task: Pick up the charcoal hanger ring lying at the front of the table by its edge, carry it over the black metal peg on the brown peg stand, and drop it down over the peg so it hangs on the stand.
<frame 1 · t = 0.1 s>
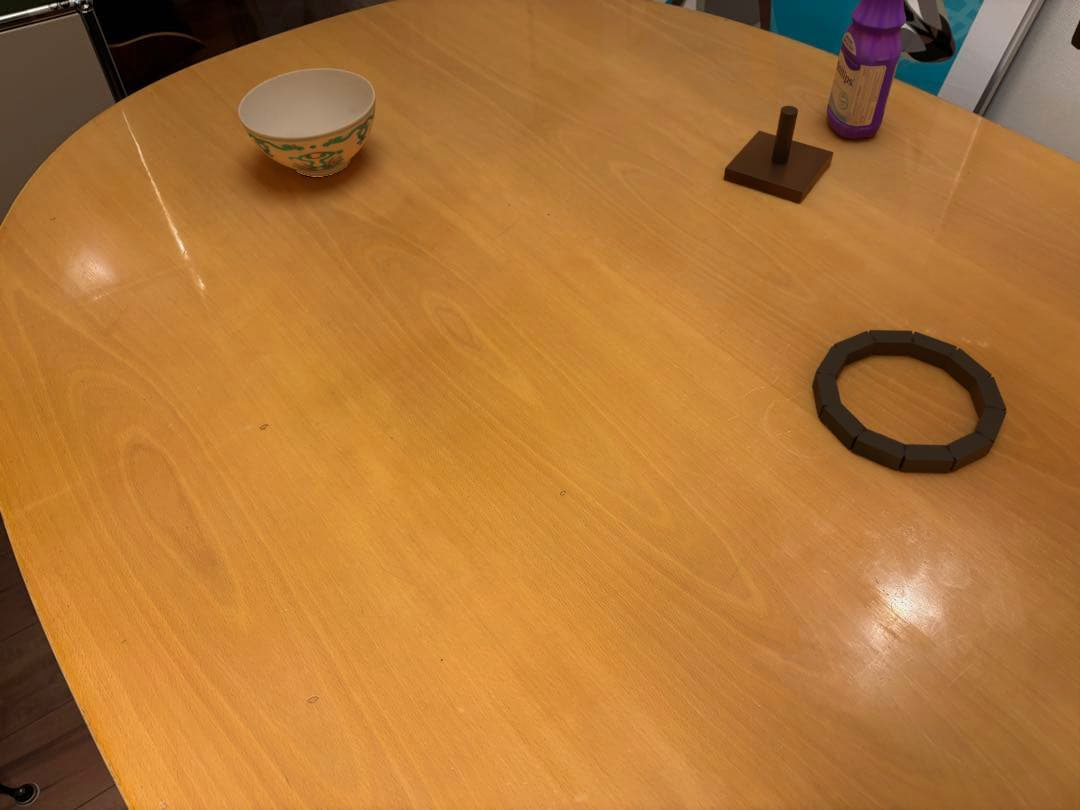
hand: (1054, 9, 53), 31 cm above the table, tool pointing down, fingers open, 9 cm apart
chinaware: (322, 163, 102), on the table
bottle: (850, 128, 103), on the table
brown peg stand: (777, 171, 98), on the table
hanger ring: (903, 403, 74), on the table
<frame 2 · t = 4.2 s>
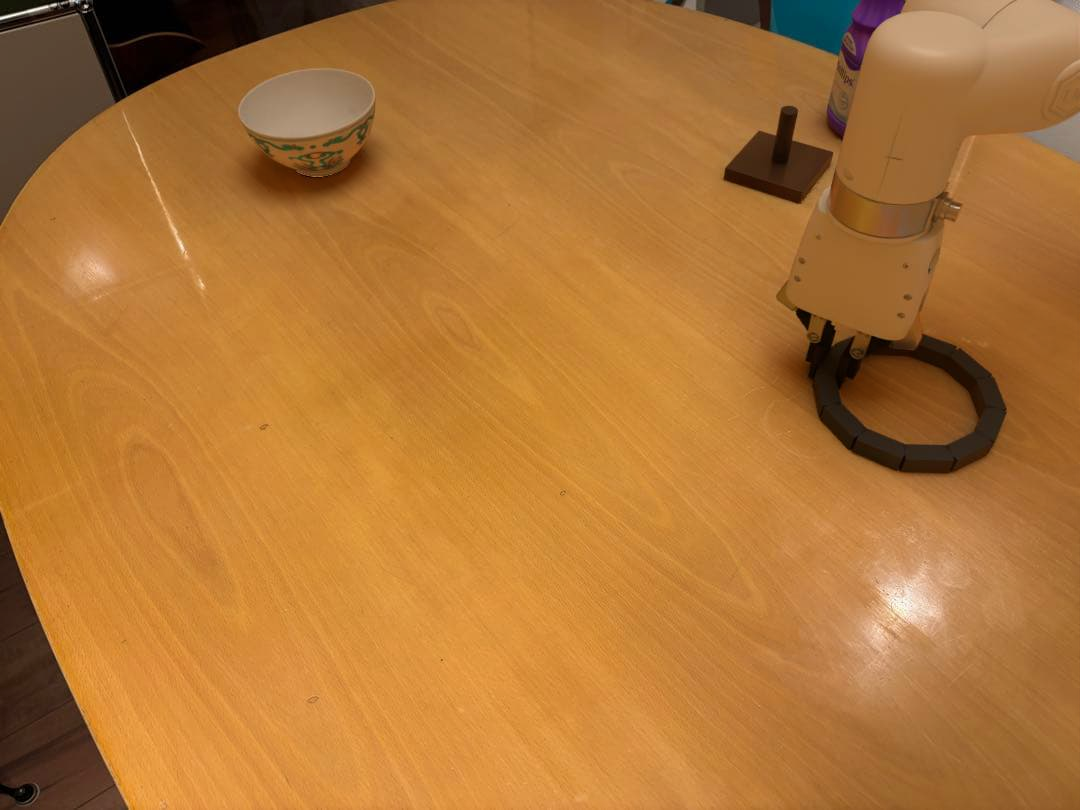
hand: (829, 372, 76), 0 cm above the table, tool pointing down, fingers closed on hanger ring, 1 cm apart
hanger ring: (904, 403, 74), on the table, touching gripper
everything else where it was.
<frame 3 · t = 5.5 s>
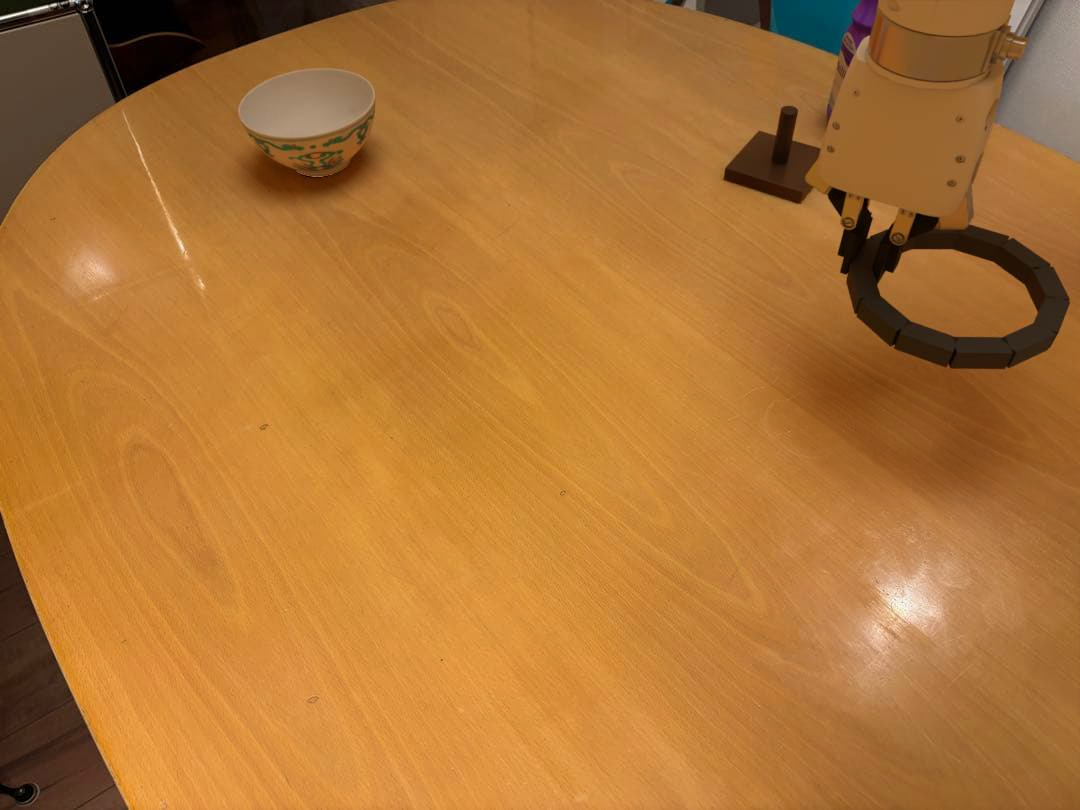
hand: (864, 268, 68), 12 cm above the table, tool pointing down, fingers closed on hanger ring
hanger ring: (950, 298, 65), point 12 cm above the table, touching gripper
everything else where it was.
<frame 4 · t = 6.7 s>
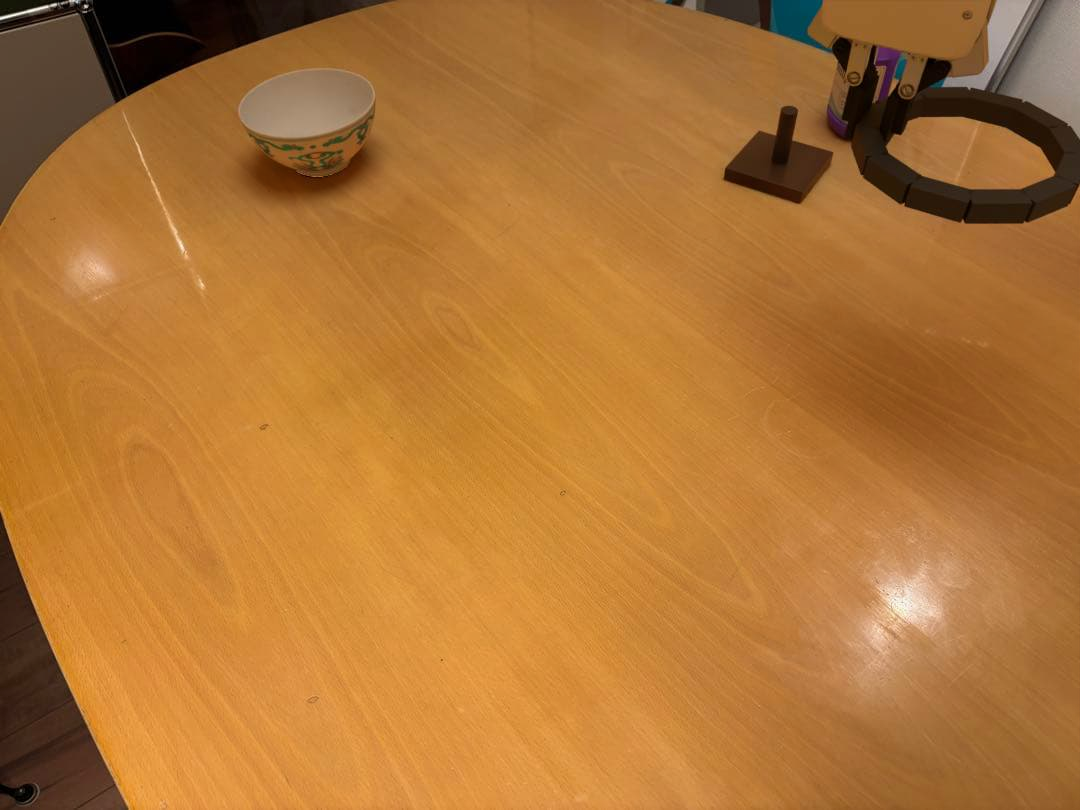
hand: (870, 133, 64), 21 cm above the table, tool pointing down, fingers closed on hanger ring
hanger ring: (962, 160, 61), point 21 cm above the table, touching gripper
everything else where it was.
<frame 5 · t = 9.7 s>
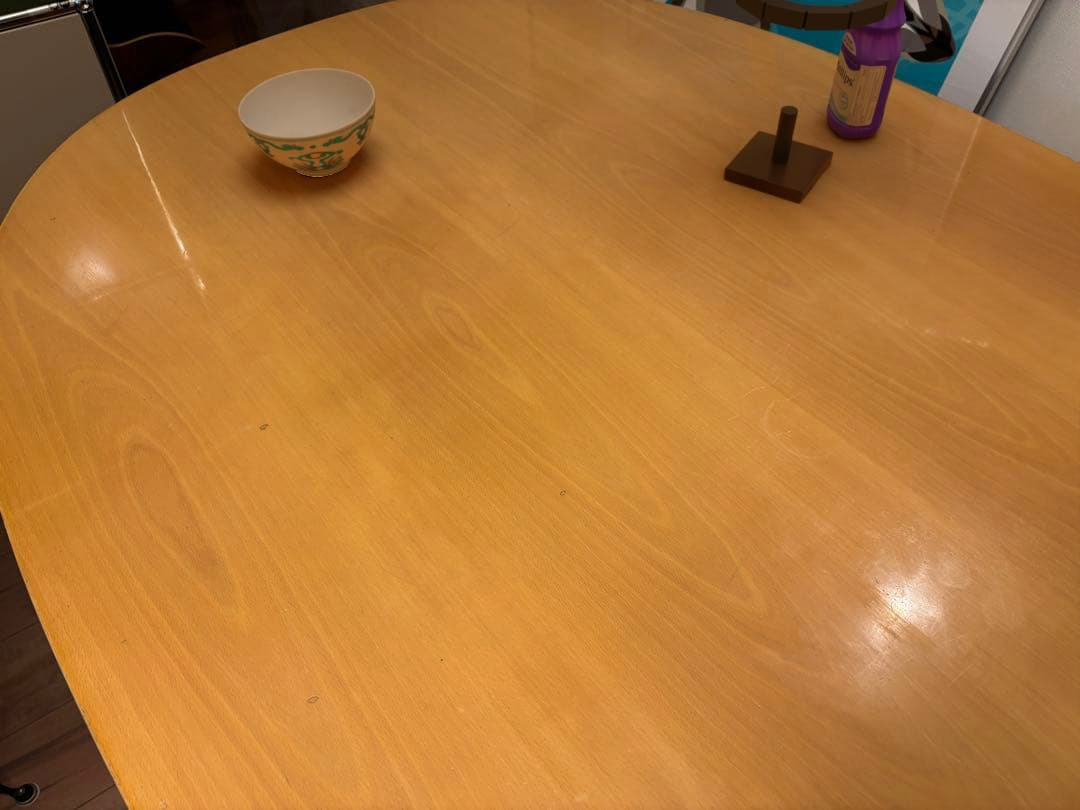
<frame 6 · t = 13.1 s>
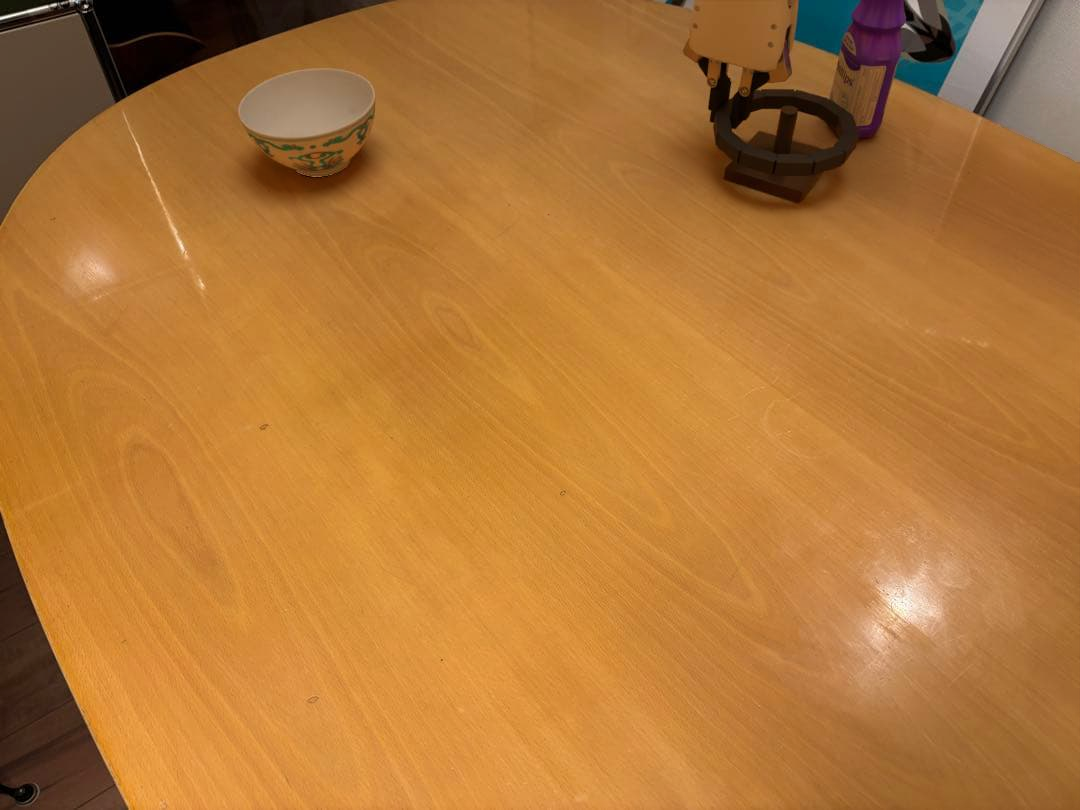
hand: (728, 119, 97), 4 cm above the table, tool pointing down, fingers closed on hanger ring
hanger ring: (783, 137, 94), point 4 cm above the table, touching gripper
everything else where it was.
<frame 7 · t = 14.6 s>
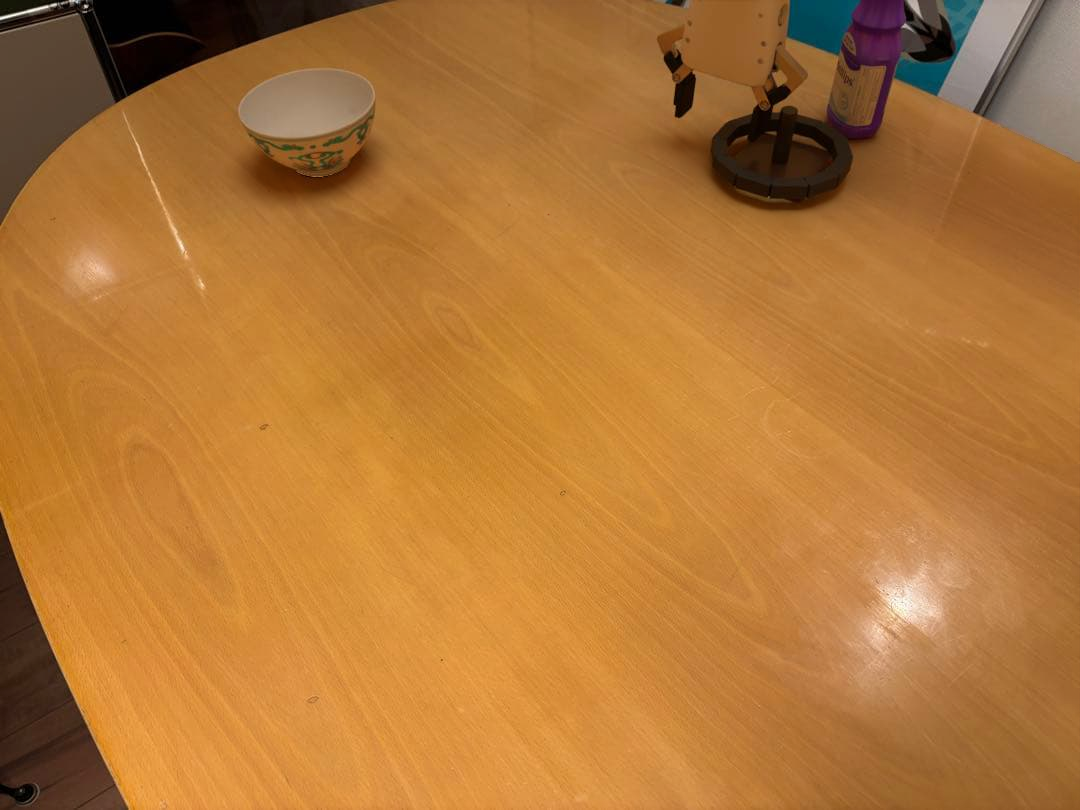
hand: (718, 123, 98), 4 cm above the table, tool pointing down, fingers open, 8 cm apart
hanger ring: (778, 159, 96), point 1 cm above the table, touching brown peg stand
everything else where it was.
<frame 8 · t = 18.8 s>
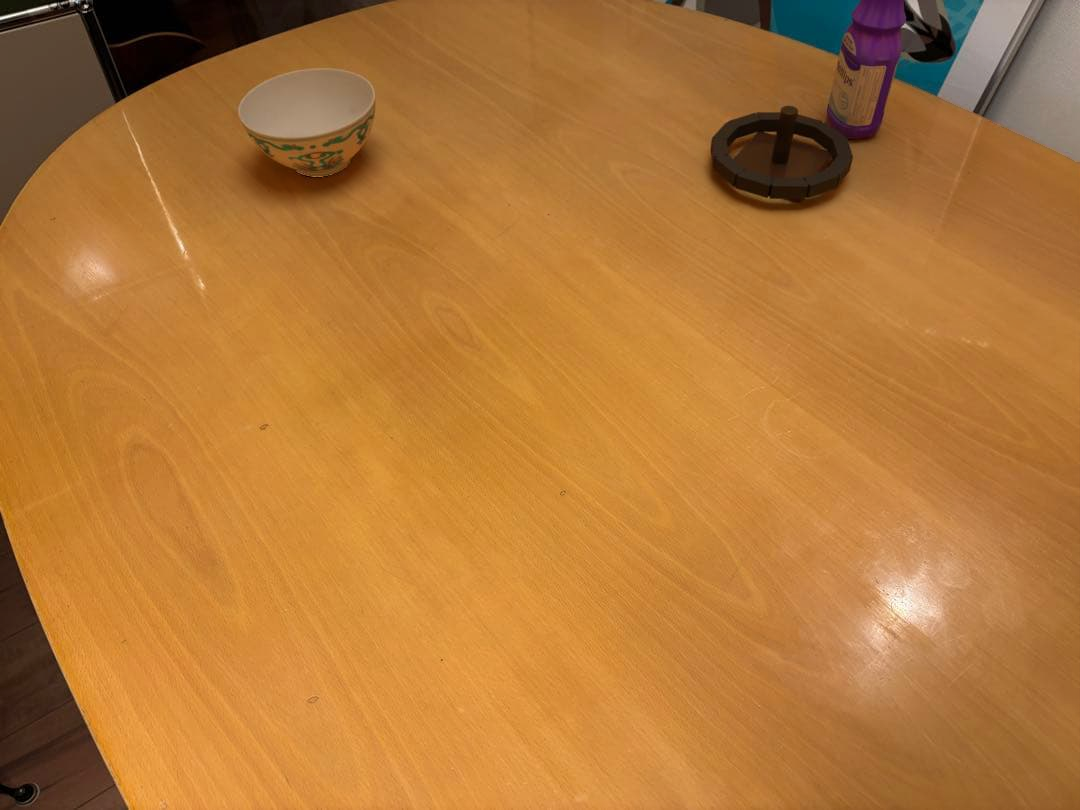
nothing on the table moved.
at the end: hanger ring inside the target area on the brown peg stand (0.1 cm from its centre), point 1.5 cm above the brown peg stand's base; the gripper is holding nothing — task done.
